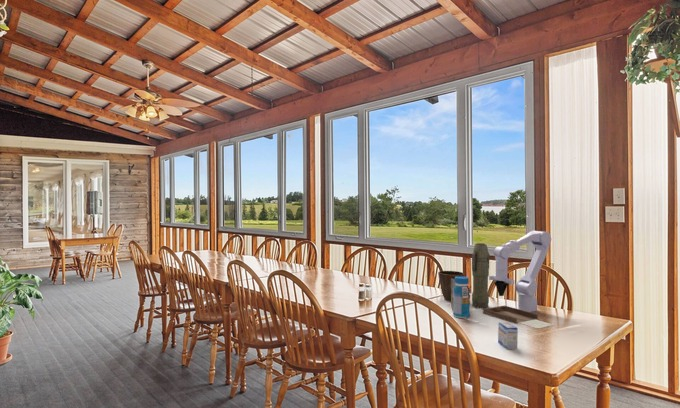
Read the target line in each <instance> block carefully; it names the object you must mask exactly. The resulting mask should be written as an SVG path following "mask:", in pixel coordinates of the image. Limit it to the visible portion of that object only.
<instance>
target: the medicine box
mask: <svg viewBox="0 0 680 408" xmlns="http://www.w3.org/2000/svg"><path fill="white" fill-rule="evenodd" d="M518 329H519V328H518V327H517V326H515V325H513V324H511V322H509V321H499V322H498V329H497V330H498V331H497V333H498V334H497V336H498V337H497V343H498V344H499V343H500V344H499V345H500V346H502V347H503V348H505V349H506V350H517V349H518V332H519V331H518Z"/></svg>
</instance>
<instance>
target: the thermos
mask: <svg viewBox="0 0 680 408" xmlns="http://www.w3.org/2000/svg"><path fill="white" fill-rule="evenodd" d="M488 250H489V249H488V246H487V244H486V243H479V242H477V243H474V247H473V252H472V253H471V271H472V272H471V273H472V294H471V303H472V304H471V306H472V308H475V309H482V310H483V309H486V308H489V302H490V295H489V276H490V252H489V251H488Z"/></svg>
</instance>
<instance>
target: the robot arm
mask: <svg viewBox="0 0 680 408" xmlns="http://www.w3.org/2000/svg"><path fill="white" fill-rule="evenodd" d="M551 242H552V237H551V234H550V233H549V232H548V231H540V230H533V229H532V230H531V231H529V232H528V233H526V234H524V235H523V236H521V237H520V238H519V239H516V240H515V239H510V240H508V242H506V243H503V244H502V245H501V246H496V247H495V248H494V249H493V251H492V253H493V256H494V260H495V275H489V276H488V281H494V283H493V284H494V285H495V287H496V290H497V292H498V296H499V297H504V296H505V292H506V291H507V288H508V286H509V284H510V285H514V289H515V291H516V292H517V295H518V296H517V300H518V301H517V302H518V303H517V305H518V306H517V309H519V310H523V311H527V312H530V313H533V312H538V299H537V296H536V295H535V294H536V293H537V287H538V285H539V283H538V282H537V281H536V279H537V276H538V275H539V273H540V270H541V269H542V265H543V263H544V261H545V259H546V257H547V254H548V253H549V249H550V244H551ZM529 243H531V244H532V245H533V246H534V248H535V252H534V253H533V256H532V259H531V261H530V263H529V265H528V267H527V269H526V272H525V275H523V276H521V277H520V278H519V280H518V281H517V282H516V283H515V280H513V279H510V278H508V259H509V257H510V256H511V254H513V253H516V252H518V251H519V250H520V249H521V247H522V246H524V245H526V244H529Z"/></svg>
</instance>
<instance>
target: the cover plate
mask: <svg viewBox="0 0 680 408" xmlns="http://www.w3.org/2000/svg"><path fill="white" fill-rule="evenodd" d="M519 324H522V325H525V326H528V327H531V328H534V329H536V330H537V329H542V328H548V327H552V326H554V324H553V323H549V322H546V321H542V320H538V319H535V320H530V321H525V322H520V323H519Z"/></svg>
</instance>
